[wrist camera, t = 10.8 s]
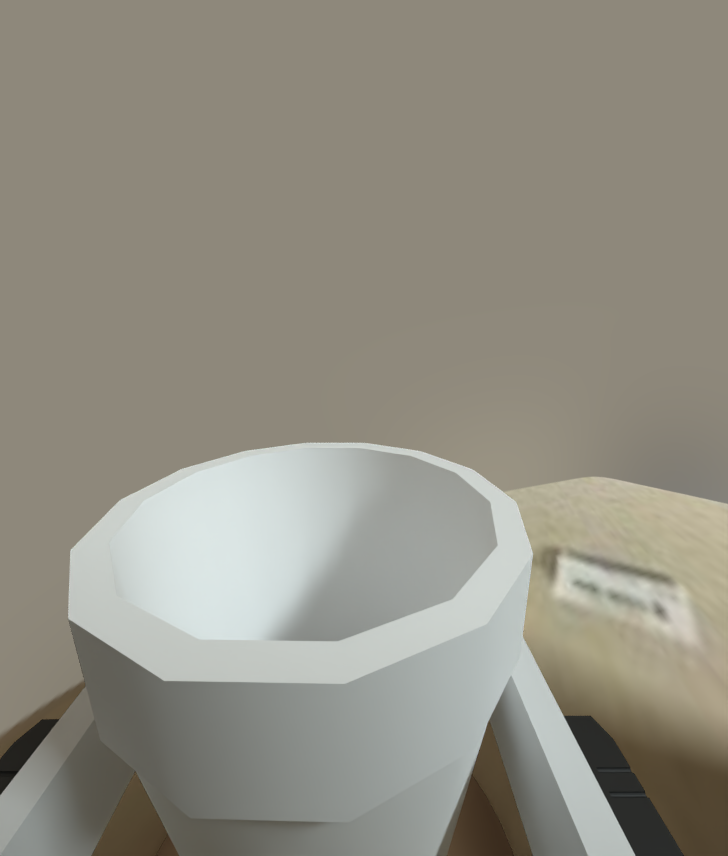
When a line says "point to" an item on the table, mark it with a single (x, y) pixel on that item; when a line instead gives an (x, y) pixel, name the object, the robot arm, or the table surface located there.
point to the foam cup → (303, 645)
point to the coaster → (473, 836)
